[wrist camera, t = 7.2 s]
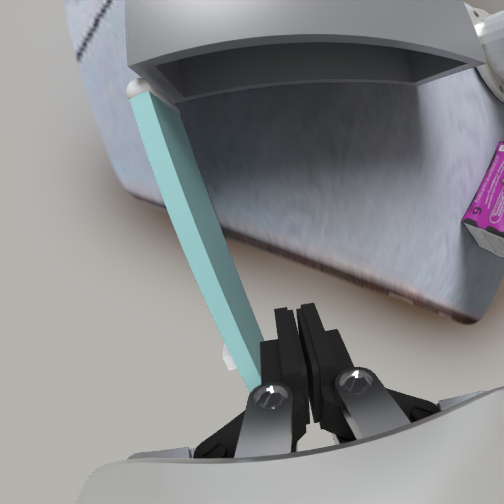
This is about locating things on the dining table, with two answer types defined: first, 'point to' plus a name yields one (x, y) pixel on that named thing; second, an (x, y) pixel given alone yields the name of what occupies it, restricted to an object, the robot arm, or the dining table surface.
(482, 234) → the candy bar box
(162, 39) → the case
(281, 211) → the dining table surface
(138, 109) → the side door
